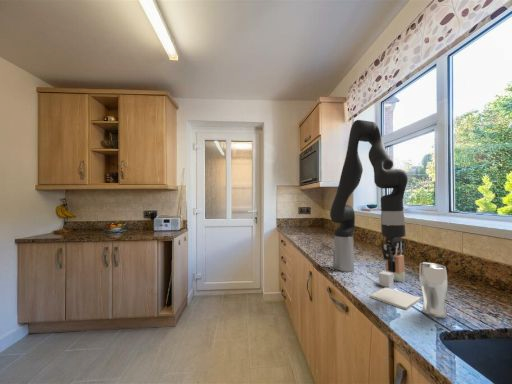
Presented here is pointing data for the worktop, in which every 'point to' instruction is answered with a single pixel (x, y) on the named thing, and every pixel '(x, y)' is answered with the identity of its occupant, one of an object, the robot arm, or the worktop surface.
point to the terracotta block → (397, 264)
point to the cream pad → (395, 298)
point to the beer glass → (433, 289)
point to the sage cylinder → (399, 277)
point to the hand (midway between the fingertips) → (395, 269)
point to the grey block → (386, 279)
